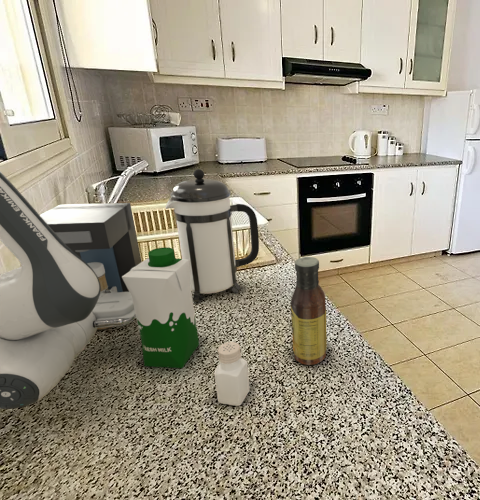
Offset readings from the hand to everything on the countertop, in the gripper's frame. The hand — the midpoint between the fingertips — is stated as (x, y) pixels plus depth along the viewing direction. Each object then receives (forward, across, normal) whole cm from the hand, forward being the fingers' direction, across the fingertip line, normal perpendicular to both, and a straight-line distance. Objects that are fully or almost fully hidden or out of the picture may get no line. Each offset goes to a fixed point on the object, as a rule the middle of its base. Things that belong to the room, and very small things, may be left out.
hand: (97, 290), depth 76 cm
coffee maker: (0, 0, +8) cm, 8 cm away
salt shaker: (-27, -28, +8) cm, 40 cm away
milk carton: (-14, -16, +8) cm, 23 cm away
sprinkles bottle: (-1, 0, +8) cm, 8 cm away
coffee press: (+13, -21, +8) cm, 26 cm away
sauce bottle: (-19, -41, +8) cm, 46 cm away
